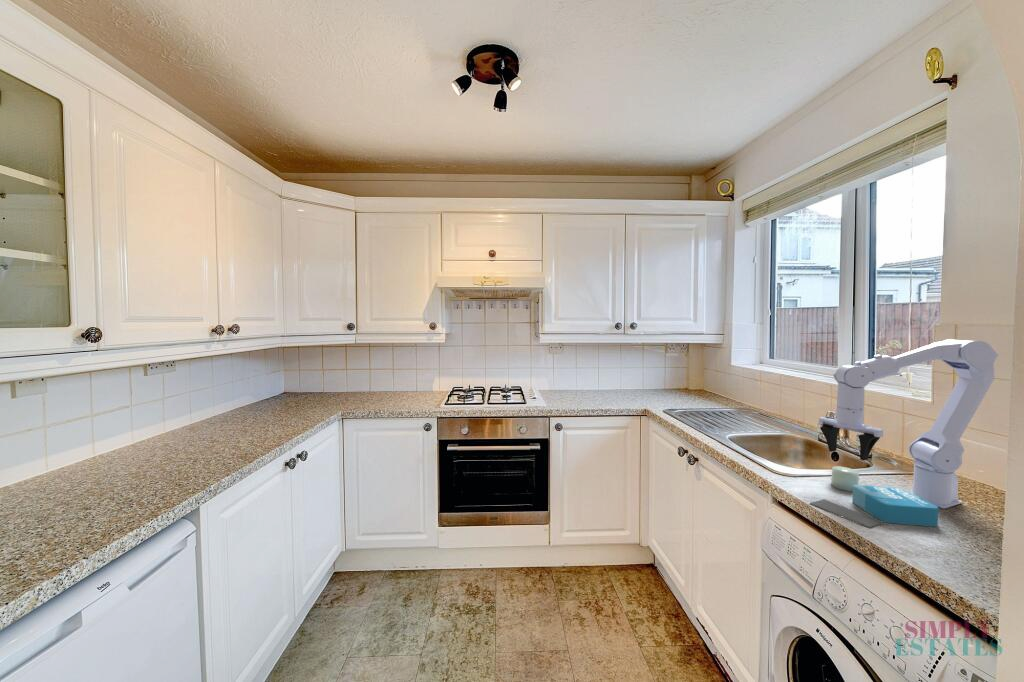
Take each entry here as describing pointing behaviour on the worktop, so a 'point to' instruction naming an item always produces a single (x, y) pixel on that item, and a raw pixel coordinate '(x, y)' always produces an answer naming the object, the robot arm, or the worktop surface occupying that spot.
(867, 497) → the data package
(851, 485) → the mint green soap bar
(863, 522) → the rubber mat
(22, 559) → the worktop surface
